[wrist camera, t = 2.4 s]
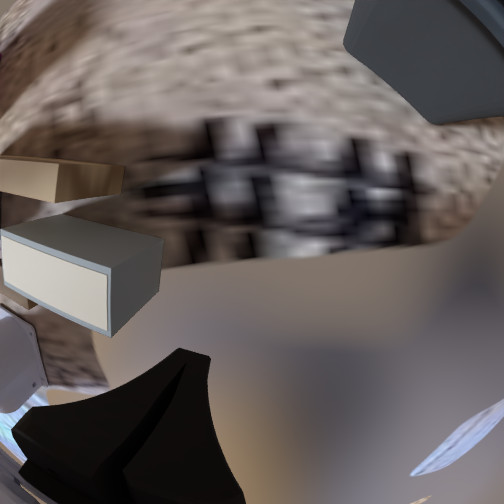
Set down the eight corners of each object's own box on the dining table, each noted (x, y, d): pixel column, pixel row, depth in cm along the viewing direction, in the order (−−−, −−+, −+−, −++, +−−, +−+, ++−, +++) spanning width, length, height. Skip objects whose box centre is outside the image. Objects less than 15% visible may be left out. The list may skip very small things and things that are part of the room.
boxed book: (158, 291, 20) (110, 338, 13) (61, 259, 20) (3, 284, 13) (165, 238, 19) (110, 268, 12) (62, 213, 19) (-1, 228, 12)
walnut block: (48, 298, 21) (28, 310, 18) (14, 280, 21) (-4, 289, 18) (46, 269, 20) (25, 279, 17) (12, 254, 21) (-8, 261, 18)
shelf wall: (120, 193, 18) (54, 203, 11) (-3, 173, 19) (-52, 179, 12) (124, 166, 18) (58, 163, 11) (-1, 155, 18) (-50, 157, 11)
